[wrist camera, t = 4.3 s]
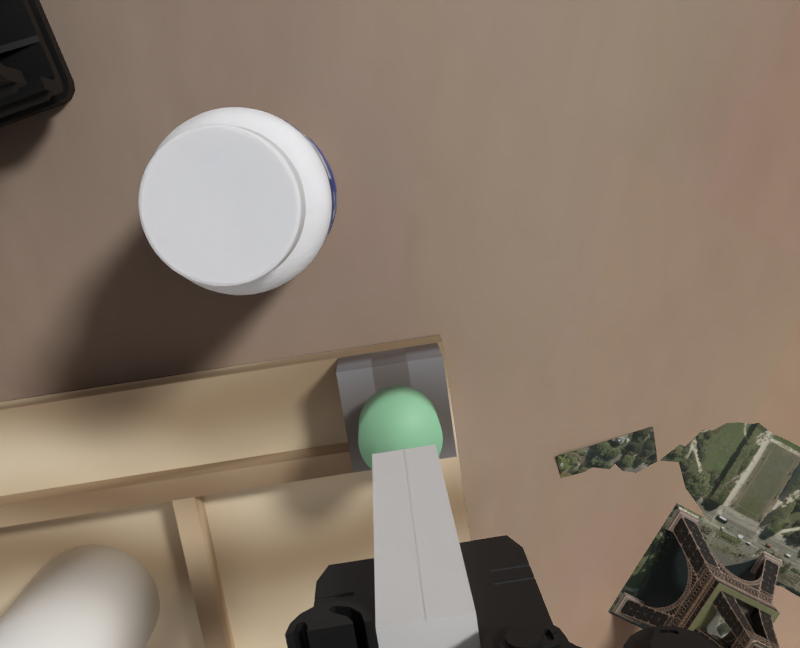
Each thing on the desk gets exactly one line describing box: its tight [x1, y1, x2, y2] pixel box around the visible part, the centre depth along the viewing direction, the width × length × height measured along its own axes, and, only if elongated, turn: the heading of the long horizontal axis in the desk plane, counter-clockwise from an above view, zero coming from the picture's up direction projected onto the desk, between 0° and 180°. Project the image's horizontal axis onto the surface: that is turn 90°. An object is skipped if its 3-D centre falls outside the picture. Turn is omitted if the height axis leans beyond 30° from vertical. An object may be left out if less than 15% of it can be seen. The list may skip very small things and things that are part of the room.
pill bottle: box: [138, 107, 337, 295], centre depth 23 cm, size 5×5×9 cm
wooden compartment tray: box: [0, 335, 470, 648], centre depth 28 cm, size 13×20×3 cm, turn 98°
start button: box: [358, 386, 443, 469], centre depth 25 cm, size 3×3×4 cm
